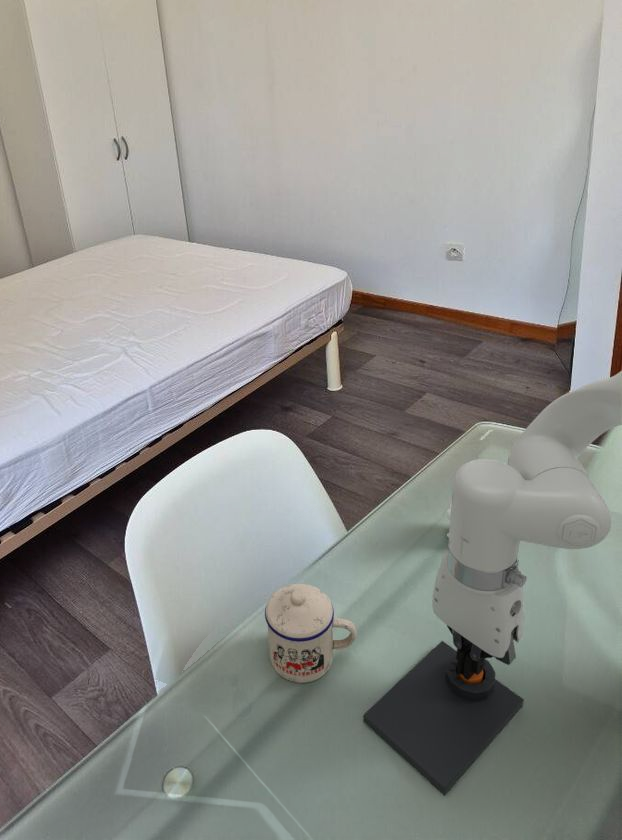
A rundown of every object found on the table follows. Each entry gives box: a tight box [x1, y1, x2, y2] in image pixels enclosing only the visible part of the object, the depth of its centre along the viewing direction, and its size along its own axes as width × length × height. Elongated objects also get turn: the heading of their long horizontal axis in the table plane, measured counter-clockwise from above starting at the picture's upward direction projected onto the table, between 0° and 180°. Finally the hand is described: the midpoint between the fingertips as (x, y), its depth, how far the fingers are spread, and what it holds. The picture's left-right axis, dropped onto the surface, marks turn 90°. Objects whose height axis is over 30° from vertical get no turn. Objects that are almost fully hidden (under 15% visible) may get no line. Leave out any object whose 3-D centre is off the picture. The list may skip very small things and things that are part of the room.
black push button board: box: [362, 640, 524, 796], centre depth 85 cm, size 16×12×3 cm
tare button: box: [458, 670, 483, 684], centre depth 87 cm, size 3×3×2 cm
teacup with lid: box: [264, 583, 357, 684], centre depth 92 cm, size 12×9×12 cm
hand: (469, 669), depth 87 cm, fingers closed
